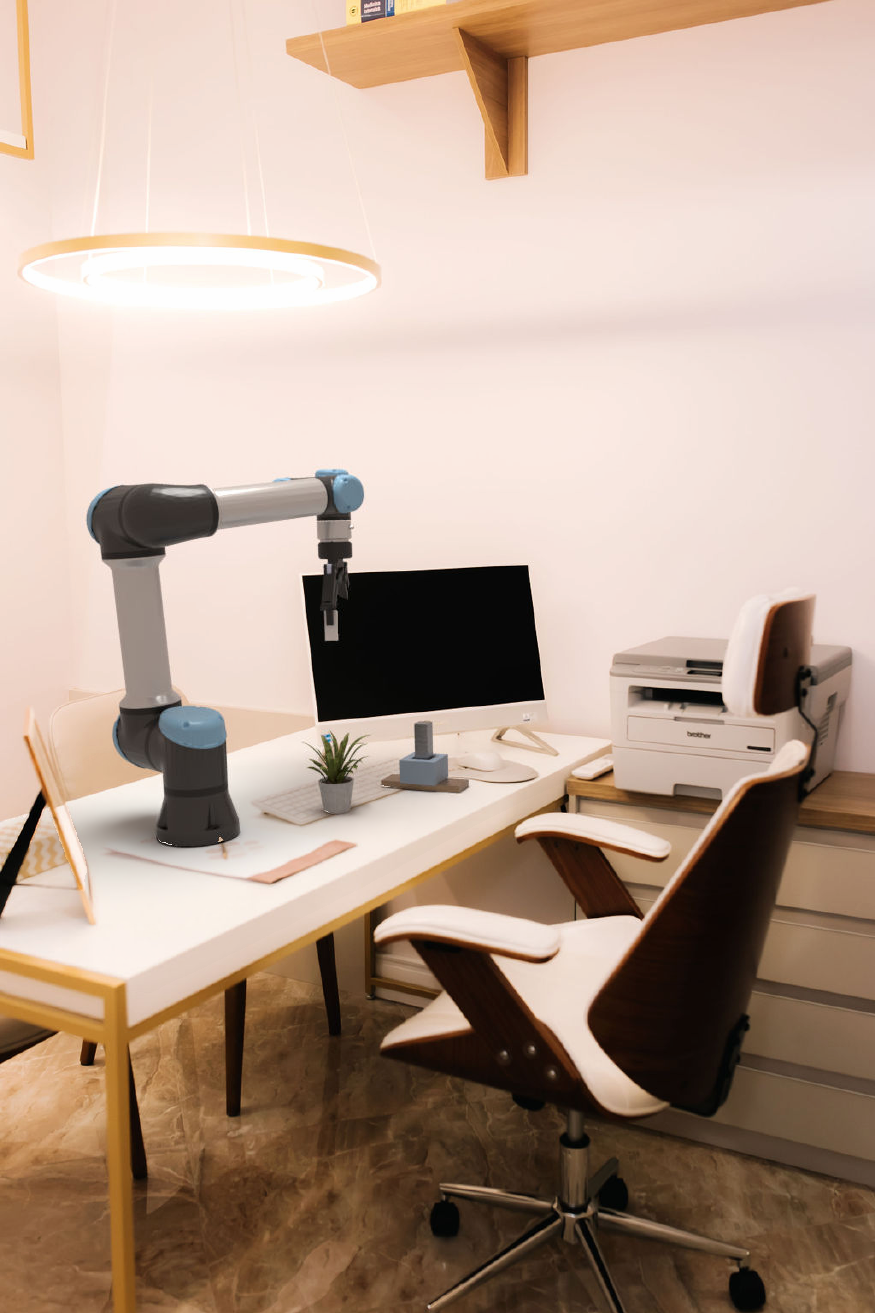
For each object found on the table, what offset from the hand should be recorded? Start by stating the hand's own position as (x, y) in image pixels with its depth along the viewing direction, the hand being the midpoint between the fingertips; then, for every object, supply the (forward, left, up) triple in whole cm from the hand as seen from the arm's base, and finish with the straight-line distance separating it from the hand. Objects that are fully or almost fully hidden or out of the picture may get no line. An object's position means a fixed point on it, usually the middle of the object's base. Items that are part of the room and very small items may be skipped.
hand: (338, 637), depth 232 cm
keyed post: (-9, -20, -32) cm, 38 cm away
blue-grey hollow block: (-9, -20, -30) cm, 37 cm away
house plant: (-28, -6, -32) cm, 43 cm away
